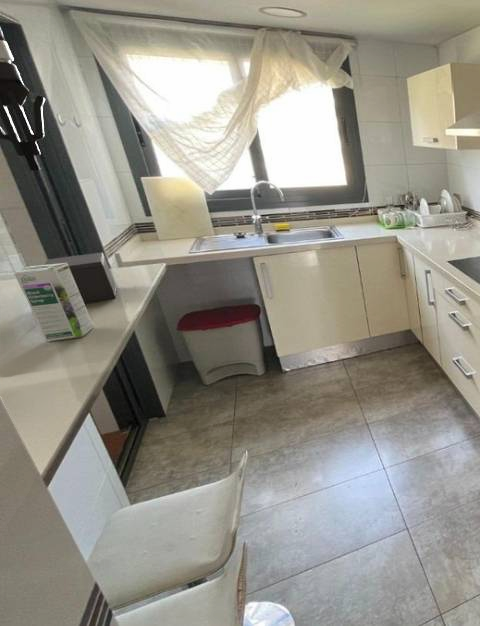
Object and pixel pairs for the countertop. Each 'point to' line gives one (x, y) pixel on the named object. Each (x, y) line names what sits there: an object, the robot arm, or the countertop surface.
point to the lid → (79, 260)
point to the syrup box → (55, 301)
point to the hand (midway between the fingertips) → (35, 169)
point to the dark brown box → (95, 283)
